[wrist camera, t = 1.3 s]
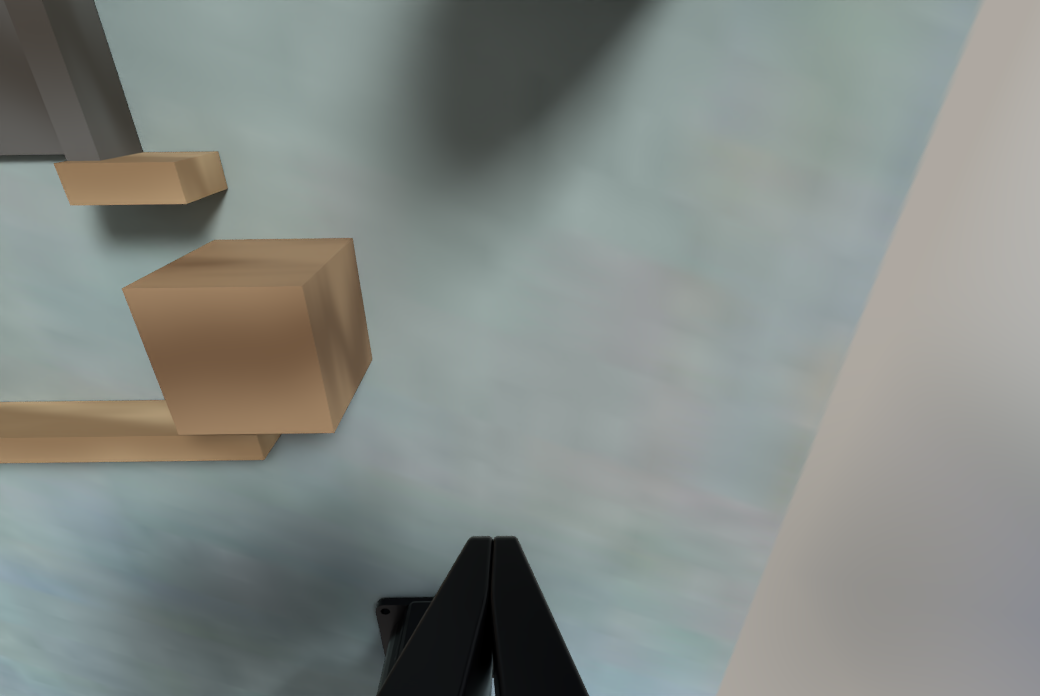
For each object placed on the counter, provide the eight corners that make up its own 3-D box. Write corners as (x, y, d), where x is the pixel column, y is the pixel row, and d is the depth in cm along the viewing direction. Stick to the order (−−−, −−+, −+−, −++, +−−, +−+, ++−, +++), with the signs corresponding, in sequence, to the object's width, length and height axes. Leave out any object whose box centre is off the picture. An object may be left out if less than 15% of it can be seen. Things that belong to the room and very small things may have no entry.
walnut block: (372, 358, 21) (334, 432, 17) (250, 360, 21) (178, 434, 17) (353, 237, 19) (301, 286, 14) (215, 239, 19) (121, 288, 14)
